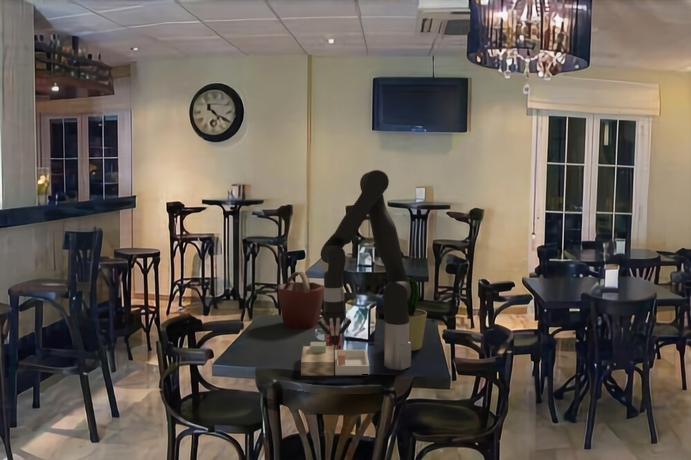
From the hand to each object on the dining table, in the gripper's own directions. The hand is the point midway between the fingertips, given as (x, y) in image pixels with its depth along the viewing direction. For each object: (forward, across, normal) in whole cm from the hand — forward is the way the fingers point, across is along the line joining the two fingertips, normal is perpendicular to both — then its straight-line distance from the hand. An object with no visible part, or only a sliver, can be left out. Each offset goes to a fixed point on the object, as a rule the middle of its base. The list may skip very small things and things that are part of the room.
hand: (335, 344), depth 237 cm
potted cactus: (+11, -32, -30) cm, 45 cm away
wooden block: (+10, +6, -6) cm, 13 cm away
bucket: (+9, +13, -70) cm, 72 cm away
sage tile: (+5, +6, -10) cm, 13 cm away
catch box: (+10, -6, -5) cm, 13 cm away
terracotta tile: (+7, -1, -1) cm, 7 cm away
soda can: (+10, 0, -28) cm, 30 cm away
